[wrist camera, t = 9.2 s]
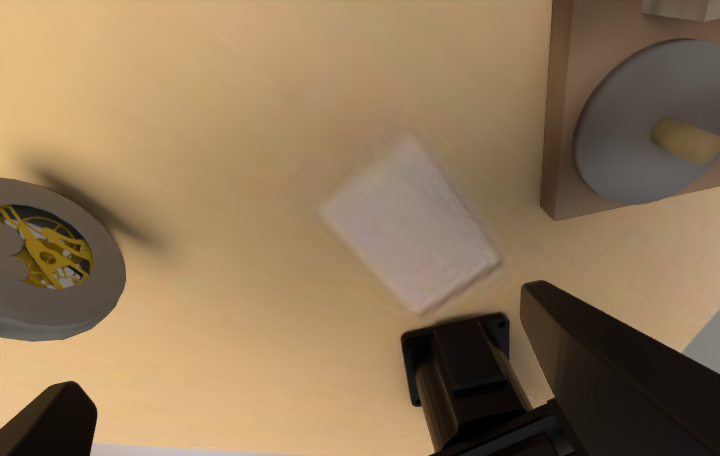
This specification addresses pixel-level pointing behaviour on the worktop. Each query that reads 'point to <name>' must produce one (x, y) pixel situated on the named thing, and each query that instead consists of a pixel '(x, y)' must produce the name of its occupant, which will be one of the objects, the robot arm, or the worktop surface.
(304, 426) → the worktop surface
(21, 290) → the pocket watch
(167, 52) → the worktop surface
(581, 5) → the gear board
